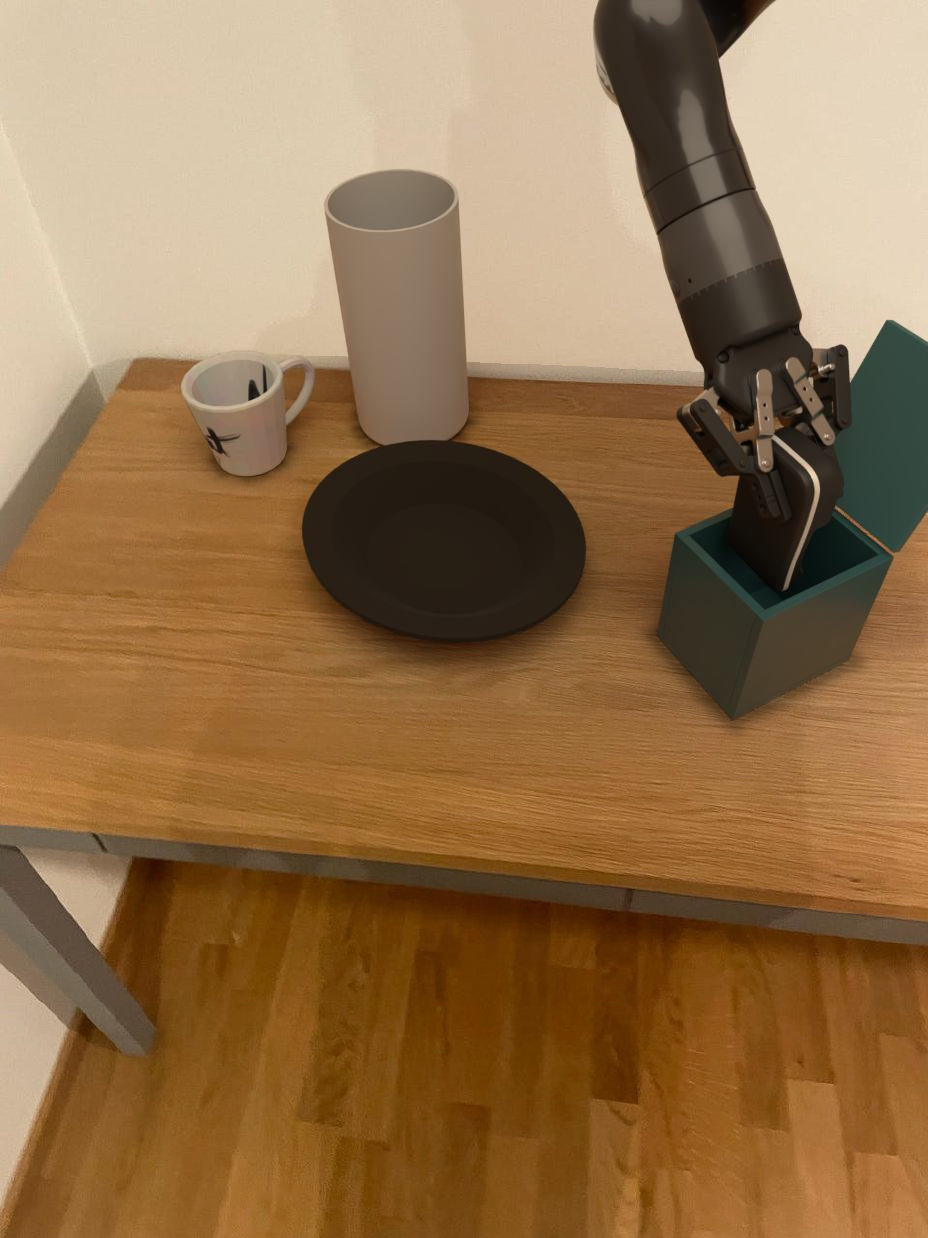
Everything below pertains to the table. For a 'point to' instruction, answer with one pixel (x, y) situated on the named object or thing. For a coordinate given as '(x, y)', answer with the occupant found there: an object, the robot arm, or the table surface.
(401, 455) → the plate
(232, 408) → the mug
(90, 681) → the table surface
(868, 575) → the tray box
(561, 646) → the table surface
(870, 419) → the cover
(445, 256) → the cylinder vase
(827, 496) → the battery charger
